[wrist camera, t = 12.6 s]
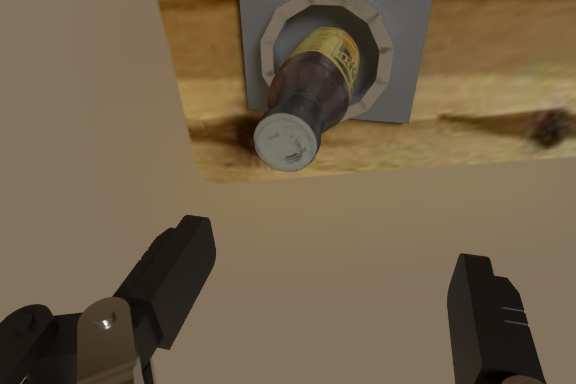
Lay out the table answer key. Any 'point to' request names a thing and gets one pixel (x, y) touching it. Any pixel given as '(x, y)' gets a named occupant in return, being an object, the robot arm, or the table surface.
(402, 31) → the charcoal base
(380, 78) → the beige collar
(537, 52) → the table surface
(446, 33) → the table surface
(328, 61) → the sauce bottle
